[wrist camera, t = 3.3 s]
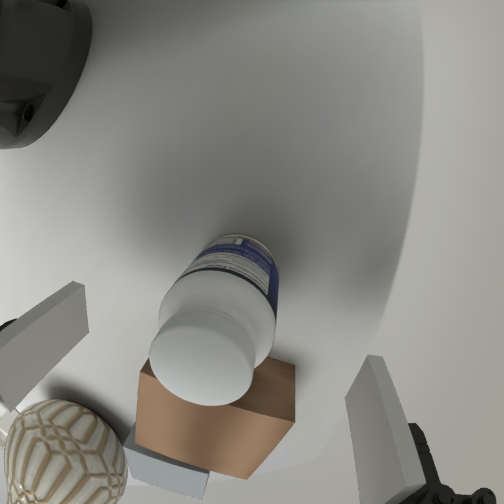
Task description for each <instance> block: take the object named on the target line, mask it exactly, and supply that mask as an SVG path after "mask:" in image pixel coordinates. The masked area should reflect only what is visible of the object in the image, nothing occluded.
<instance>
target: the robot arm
mask: <svg viewBox="0 0 504 504" xmlns="http://www.w3.org/2000/svg"><path fill="white" fill-rule="evenodd" d="M91 32H92V22H91V16H90V12H89V9H88V7H87V6H86V4H85V3H84V2H83V1H81V0H0V149H12V148H21V147H24V146H27V145H29V144H31V143H33V142H34V141H36V140H37V139H38V138H39V137H41V136H42V135H43V134H44V133H45V132H46V131H47V130H48V129H49V127H50V126H51V125H52V124H53V123H54V121H55V120H56V119H57V117H58V116H59V114H60V113H61V111H62V110H63V108H64V107H65V105H66V103H67V102H68V100H69V98H70V96H71V94H72V92H73V90H74V88H75V86H76V84H77V82H78V80H79V77H80V75H81V72H82V70H83V67H84V64H85V61H86V58H87V54H88V50H89V46H90V40H91ZM88 333H89V328H88V319H87V309H86V298H85V285H83V284H80V283H77V282H74V281H72V282H71V283H69V284H68V285H66V286H65V287H63V288H61V289H60V290H58V291H57V292H55V293H54V294H52V295H51V296H50V297H48V298H47V299H45V300H44V301H42V302H41V303H39V304H38V305H36V306H35V307H34V308H32V309H31V310H29V311H28V312H26V313H25V314H24V315H22V316H21V317H19V318H18V319H13V320H10V321H8V322H6V323H4V324H3V325H1V326H0V405H1V406H2V407H4V408H5V409H6V410H7V411H8V412H10V413H11V412H12V411H13V410H14V408H15V407H16V406H17V405H18V404H19V403H20V402H21V401H22V400H23V399H24V398H25V397H26V395H27V394H28V393H29V392H30V391H31V390H32V389H33V388H34V387H35V386H36V385H37V384H38V383H39V382H40V381H41V380H42V379H43V378H44V377H45V376H46V374H47V373H48V372H49V371H50V370H51V369H52V368H53V367H54V366H55V365H56V364H57V363H58V362H59V361H60V360H61V359H62V358H63V357H64V356H65V355H66V354H67V353H68V352H69V351H70V350H71V349H72V348H73V347H74V346H75V345H76V344H77V343H78V342H80V341H81V340H82V339H83V338H84V337H85V336H86V335H87V334H88ZM345 402H346V407H347V413H348V419H349V424H350V431H351V438H352V444H353V451H354V458H355V466H356V473H357V481H358V490H359V499H360V504H496V497H495V495H494V493H493V492H492V491H491V490H490V489H488V488H480V489H478V490H477V491H475V492H474V493H473V494H472V495H460V494H455V493H454V491H453V490H452V489H451V488H450V487H449V486H447V485H443V484H441V482H440V480H439V477H438V473H437V471H436V467H435V464H434V461H433V458H432V455H431V453H430V449H429V446H428V445H427V441H426V438H425V435H424V433H423V431H422V430H421V429H420V427H419V426H418V425H417V424H416V423H408V422H407V420H406V417H405V414H404V411H403V408H402V406H401V403H400V400H399V397H398V395H397V392H396V389H395V387H394V384H393V382H392V379H391V377H390V374H389V371H388V369H387V366H386V364H385V362H384V359H383V357H381V356H374V355H367V357H366V359H365V361H364V363H363V365H362V367H361V369H360V371H359V373H358V375H357V376H356V378H355V380H354V382H353V384H352V386H351V388H350V389H349V391H348V393H347V395H346V397H345Z"/></svg>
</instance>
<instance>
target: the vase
mask: <svg viewBox="0 0 504 504" xmlns="http://www.w3.org/2000/svg"><path fill="white" fill-rule="evenodd" d="M4 471H5V478H6V484H7V491H8V496H7V504H117V503H118V501H119V500H120V498H121V497H122V495H123V493H124V490H125V487H126V483H127V478H128V467H127V459H126V456H125V452H124V450H123V447H122V445H121V443H120V441H119V439H118V437H117V436H116V434H115V432H114V431H113V430H112V428H111V427H110V426H109V425H108V424H107V423H106V422H105V421H104V420H103V419H101V418H100V417H99V416H98V415H96V414H95V413H94V412H92V411H91V410H89V409H87V408H86V407H84V406H82V405H80V404H77V403H74V402H70V401H64V400H53V399H50V400H44V401H40V402H37V403H34V404H32V405H30V406H28V407H27V408H26V409H24V410H23V411H22V412H21V413H20V414H19V415H18V416H17V417H16V418H15V419H14V421H13V423H12V425H11V427H10V429H9V432H8V435H7V438H6V442H5V448H4Z"/></svg>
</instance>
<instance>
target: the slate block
mask: <svg viewBox="0 0 504 504" xmlns="http://www.w3.org/2000/svg"><path fill="white" fill-rule="evenodd" d="M135 431H136V422H135V424H134V426H133V428H132V430H131V432H130V433H129V435H128V437H127V439H126V441H125V443H124V445H123V449H124V452H125V456H126V459H127V462H128V465H129V468H130V471H131V474H132V477H133V478H135V479H137V480H140V481H143V482H145V483H148V484H151V485H154V486H157V487H160V488H163V489H166V490H169V491H172V492H175V493H179V494H183V495H186V496H190V497H193V498H197V499H201V500H203V496H204V492H205V488H206V485H207V481H208V477H209V473H210V470H207V469H204V468H200V467H197V466H194V465H191V464H188V463H185V462H182V461H179V460H176V459H173V458H170V457H168V456H165V455H163V454H160V453H157V452H155V451H152V450H150V449H148V448H145V447H143V446H141V445H138V444H136V443H135Z"/></svg>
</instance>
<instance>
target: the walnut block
mask: <svg viewBox="0 0 504 504" xmlns="http://www.w3.org/2000/svg"><path fill="white" fill-rule="evenodd" d="M294 423H295V365H292V364H288V363H285V362H281V361H278V360H274V359H271V358H268V357H266V358H265V359H264V361H263V362H262V363H261V364H260V365H258V366H257V367H256V368H254V372H253V378H252V382H251V385H250V387H249V389H248V390H247V392H246V393H245V394H244V395H243V396H242V397H241V398H239V399H238V400H236V401H234V402H232V403H229V404H225V405H218V406H206V405H199V404H195V403H192V402H189V401H186V400H184V399H182V398H180V397H178V396H176V395H175V394H173V393H172V392H170V391H169V390H168V389H166V388H165V387H164V386H163V385H162V384H161V383H160V381H159V380H158V379H157V377H156V376H155V374H154V372H153V370H152V368H151V365H150V360H149V358H148V360H147V361H146V363H145V365H144V366H143V368H142V369H141V371H140V377H139V387H138V399H137V413H136V431H135V443H136V444H138V445H141V446H143V447H145V448H148V449H150V450H152V451H155V452H157V453H160V454H163V455H165V456H168V457H170V458H173V459H176V460H179V461H182V462H185V463H188V464H191V465H194V466H197V467H200V468H204V469H207V470H210V471H214V472H218V473H221V474H225V475H229V476H233V477H237V478H242V479H246V480H247V479H248V478H249V477H250V476H251V475H252V473H253V472H254V471H255V470H256V469H257V468H258V467H259V466H260V465H261V463H262V462H263V461H264V460H265V459H266V458H267V456H268V455H269V454H270V453H271V452H272V451H273V449H274V448H275V447H276V446H277V445H278V443H279V442H280V441H281V440H282V438H283V437H284V436H285V435H286V433H287V432H288V431H289V430H290V428H291V427H292V426H293V424H294Z"/></svg>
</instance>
